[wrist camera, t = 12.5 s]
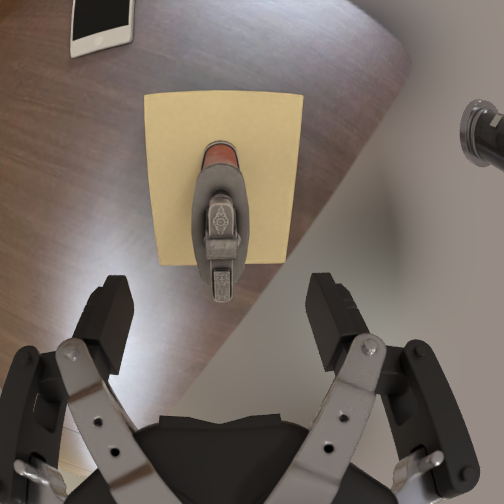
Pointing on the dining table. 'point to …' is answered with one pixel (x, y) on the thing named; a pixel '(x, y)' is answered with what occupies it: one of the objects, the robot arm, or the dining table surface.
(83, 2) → the smartphone
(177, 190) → the lunchbox lid
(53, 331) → the dining table surface
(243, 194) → the lighter
